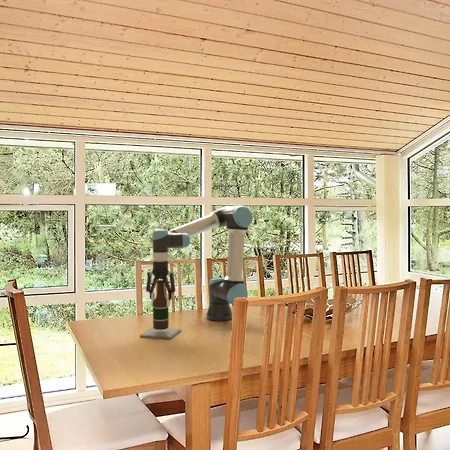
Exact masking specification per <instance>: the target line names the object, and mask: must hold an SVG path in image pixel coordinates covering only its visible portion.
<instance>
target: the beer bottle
mask: <svg viewBox="0 0 450 450" xmlns="http://www.w3.org/2000/svg"><path fill="white" fill-rule="evenodd" d="M169 307H170V306H169ZM169 307H167V296H166V295H165V283H164V281H163V279H158V280H157V283H156V295H155V300H154V302H153V306H152V324H153V325H152V328H154V329H156V330H164V329H167V328H169V322H170V321H169V320H170V319H169V315H170V313H169V310H170V308H169Z"/></svg>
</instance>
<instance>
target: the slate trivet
mask: <svg viewBox="0 0 450 450" xmlns="http://www.w3.org/2000/svg"><path fill="white" fill-rule="evenodd" d="M181 332H182V329H181V328H169V327H168V328H167V329H164V330H156V329H154V328H153V327H150V328H149V329H147V330H146V331H144V332H143V333H141V334H140V335H139V338H144V339H158V340H159V339H161V340H162V339H163V340H172V339H174V337H176V336H177V335H179V334H180V333H181Z"/></svg>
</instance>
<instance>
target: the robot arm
mask: <svg viewBox="0 0 450 450" xmlns="http://www.w3.org/2000/svg"><path fill="white" fill-rule="evenodd" d="M253 216H254V215H253V212H252V210H250V208H249V207H247V206H244V205H226V206H223V207H221V208H219V209H218V208H217V210H214V211H211V212H210V213H209V215H207V216H204V217H201V218H199V219H195V220H193V221H191V222H188V223H186V224H183V225H181V226H179V227H176V228H173V229H171V230H168V229H154V230H153V231H152V240H151V241H152V271H148V272H147V273H146V276H147V280H146V287H145V291H146V292H147V293H149V300H151V304H150V305H151V307H153V302H154V300H155V298H156V293H155V289H156V287H157V281H158V280H163V281H164V287H165V288H166V291H167V293H166V298H167V307H171V301H172V299H173V295H172V294H173V293H175V292H176V284H175V278H174V276H175V272H171V271H170V270H169V261H168V259H169V249H179V248H180V249H181V248H182V249H183V248H188V247H189V246H190V243H191V238H192V237H194V236H196V235H199V234H202V233H204V232H207V231H209V230H212V229H218V228H222V227H226V230H227V231H228V247H227V261H226V262H227V263H226V274H225V277H217V278H211V279H209V282H208V283H209V284H208V289H209V290H208V294H209V297H208V298H209V300H208V302H209V303H208V307H207V311H206V315H205V316H206V317H205V318H206V319H207V320H209V321H215V322H216V321H217V322H218V321H229V320H230V321H231V320H232V319H233V318H232V315H233V311H232V308H231V305H234V304H233V300H234V298H237V297H246V298H247V297H248V291H249V290H248V288H247V287H246V285H245V279H244V278H243V263H244V251H245V249H244V248H245V237H246V235H245V234H246V233H247V232H248V231H249V229H248V228H249V226H251V224H252V223H253V218H254V217H253ZM153 276H154V277H153ZM152 277H153V278H152ZM168 277H169V280H168ZM152 279H153V281H152ZM169 282H170V283H169Z"/></svg>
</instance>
